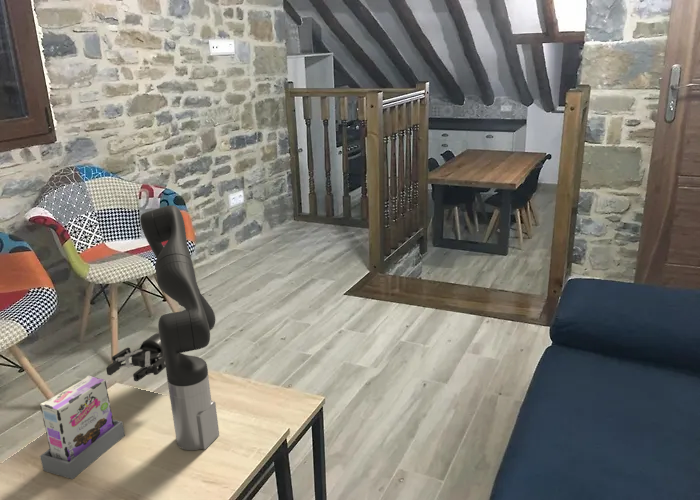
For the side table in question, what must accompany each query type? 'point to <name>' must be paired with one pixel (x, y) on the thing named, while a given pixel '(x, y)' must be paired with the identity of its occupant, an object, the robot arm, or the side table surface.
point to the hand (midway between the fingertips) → (121, 375)
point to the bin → (83, 454)
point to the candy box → (77, 417)
